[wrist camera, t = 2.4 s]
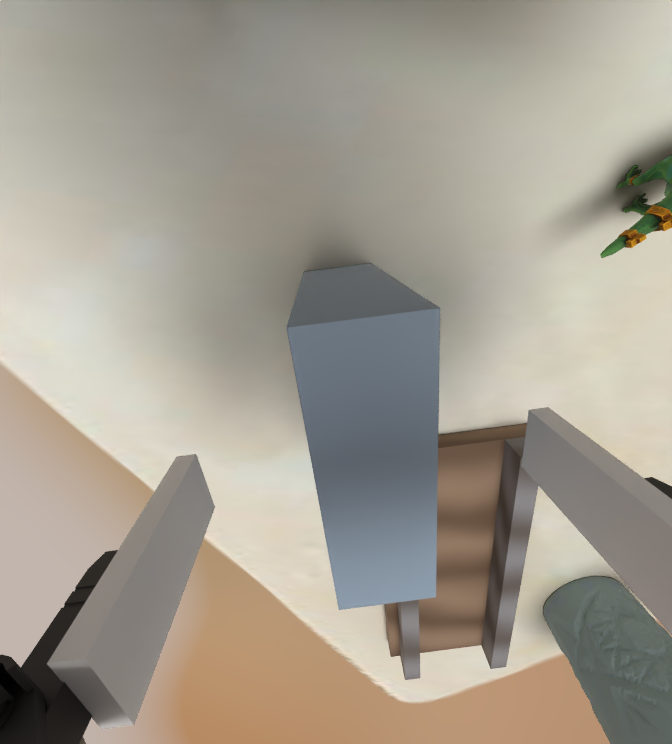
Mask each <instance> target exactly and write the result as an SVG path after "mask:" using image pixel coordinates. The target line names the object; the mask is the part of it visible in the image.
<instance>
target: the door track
mask: <svg viewBox="0 0 672 744" xmlns="http://www.w3.org/2000/svg"><path fill="white" fill-rule="evenodd" d="M526 428H527V424H521V425H513V426H505V427H497V428H490V429H482V430H474V431H467V432H459V433H451V434H443V435H438V486H437V560H436V597H435V598H427V599H420V600H412V601H404V602H396V603H389V604H385V613H386V624H387V635H388V643H389V649H390V655H391V657H393V656H401V661H402V666H403V672H404V677H405V680H409V679H416V678H420V653H424V652H431V651H439V650H447V649H454V648H462V647H470V646H477V645H482V648H483V650H484V653H485V655H486V658H487V660H488V663H489V666H490V668H491V669H493V668H501V667H506V663H507V658H508V652H509V647H510V641H511V635H512V630H513V624H514V619H515V613H516V607H517V602H518V596H519V591H520V585H521V579H522V574H523V568H524V563H525V557H526V551H527V546H528V540H529V535H530V529H531V523H532V518H533V512H534V506H535V501H536V495H537V490H538V484H537V483H536V482H535V481H534V480H533V479H532V477H531V476H530V475H529V474H528V473H527V472H526V471H525V470H524V468H523V467H522V458H523V451H524V443H525V436H526Z"/></svg>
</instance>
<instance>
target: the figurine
mask: <svg viewBox="0 0 672 744" xmlns="http://www.w3.org/2000/svg"><path fill="white" fill-rule="evenodd" d="M636 169H638V165H635V166H633V167H632V168H631V170H630V171H629V172H628V173H627V175H626V180H625V182H624V183H620V184H618V186H617V188H622V187H624V186H626V185H628V184H631V185H635V186H638V185H641V184H643V183H646V182H650V181H652V180H655V179H665V181H666V182H667V186H666V189H665V192H664V193H665V196H666V198H664V199H663V200H662V201H661V202H659V203H656V204H654V205H651V206H650V205H647V204H644V203H645V202H647V200H648V199H642V197H644V196H645V195H646V193H644V194H642V195H640V196H639V197H638V198H637V199H636V200H635V201H634V202H633V203H632V205H631V206H630V207H626V208H625V209H624V210H623V211H624V212H625V213H626V212H629V211H635V212H638V213H640V214H641V215H644V216H643V217H642V218H641V219H640V220H639V221H638V222H637V223H636V224H635V225H633V226H632V227H631V228H630V229H629V230H625V231H624V232H623V233H622V234H620V235H619V237H618V238H617V239H616V240H615V241H614V242H612V243H611V244H610V245H609V246H608V247H607V248H606V249H605V250H604V251H603V252H602V253H601V258H604V257H606V256H609V255H612V254H614V253H616V252H617V251H619V250H620V249H622V248H624V247H628V248H632V247H634V246H635V245H636V244H638V243H640V242H642V241H643V240H645V239H646V234H648V233H650V232H653V231H660V230H662V231H666V230H668V229H670V228H672V155H671V156H669V157H667V158H665V159H663V160H662V161H660V162H658V163H657V164H655V165H654V166H653V167H651V168H650V169H649V170H648V171H646V172H645V173H644V174H642V175H641V176H640V175H638V174H640V173H641V170H637V171H635V170H636ZM641 199H642V200H641Z"/></svg>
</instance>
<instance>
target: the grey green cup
mask: <svg viewBox="0 0 672 744" xmlns="http://www.w3.org/2000/svg"><path fill="white" fill-rule="evenodd" d="M543 613H544V617H545V620H546V622H547V624H548V626H549V628H550V630H551V632H552V633H553V635H554V637H555V639H556V641H557V643H558V645H559V647H560V649H561V651H562V652H563V653H564V654H565V655H566V657H567V658H568V660H569V662H570V664H571V666H572V668H573V671H574V673H575V676H576V677H577V679H578V680H579V682H580V684H581V687H582V689H583V690H584V692H585V694H586V695H587V697H588V699H589V700H590V703H591V706H592V709H593V711H594V713H595V715H596V717H597V719H598V721H599V723H600V724H601V726H602V728H603V730H604V732H605V734H606V736H607V738H608V740H609V742H610V744H672V637H671V636H670V635H669V634H668V632H667V631H666V630H665V629H664V628H663V627H661V626H660V625H659V624H658V623H657V622H656V621H655V619H654V618H653V617H652V616H651V615H650V614H649V613H648V612H647V611H646V609H645V608H644V607H643V606H642V605H641V604H640V603H639V602H638V601H637V600H636V599H635V598H634V596H633V595H632V594H631V593H630V592H629V591H628V590H627V589H626V588H625V587H624V586H623V585H622V584H621V583H620V582H618V581H617V580H614V579H611V578H609V577H604V576H601V577H600V576H591V577H585V578H581V579H578V580H575V581H572V582H570V583H567V584H566V585H564V586H562V587H560V588H559V589H557V590H556V591H555V592H554V593H553V594H552V595H551V596H550V597H549V598H548V599H547V601H546V602H545V605H544V609H543Z"/></svg>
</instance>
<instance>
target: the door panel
mask: <svg viewBox="0 0 672 744" xmlns="http://www.w3.org/2000/svg"><path fill="white" fill-rule="evenodd" d="M287 332H288V338H289V343H290V348H291V354H292V359H293V365H294V370H295V375H296V381H297V386H298V392H299V397H300V402H301V408H302V413H303V419H304V424H305V429H306V435H307V440H308V445H309V451H310V456H311V462H312V467H313V472H314V478H315V483H316V489H317V494H318V499H319V505H320V510H321V516H322V521H323V526H324V532H325V537H326V543H327V548H328V553H329V559H330V564H331V569H332V575H333V580H334V586H335V591H336V596H337V602H338V607H339V610H342V609H350V608H358V607H366V606H373V605H381V604H389V603H396V602H404V601H412V600H420V599H427V598H435V597H436V560H437V486H438V412H439V338H440V308H439V307H437V306H436V305H434V304H433V303H431V302H430V301H428V300H427V299H425V298H424V297H422V296H420V295H419V294H417V293H416V292H414V291H413V290H411V289H410V288H408V287H407V286H405V285H404V284H402V283H400V282H399V281H397V280H396V279H394V278H393V277H391V276H390V275H388V274H387V273H385V272H383V271H382V270H380V269H379V268H377V267H376V266H374V265H373V264H371V263H368V264H360V265H353V266H345V267H337V268H329V269H322V270H314V271H306V272H304V273H303V277H302V280H301V283H300V286H299V290H298V293H297V296H296V299H295V303H294V306H293V309H292V312H291V316H290V319H289V322H288V325H287Z"/></svg>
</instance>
